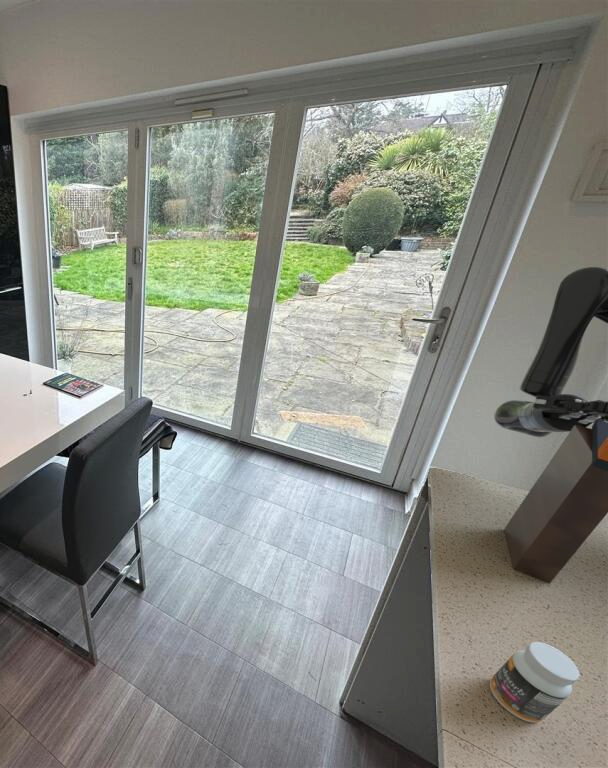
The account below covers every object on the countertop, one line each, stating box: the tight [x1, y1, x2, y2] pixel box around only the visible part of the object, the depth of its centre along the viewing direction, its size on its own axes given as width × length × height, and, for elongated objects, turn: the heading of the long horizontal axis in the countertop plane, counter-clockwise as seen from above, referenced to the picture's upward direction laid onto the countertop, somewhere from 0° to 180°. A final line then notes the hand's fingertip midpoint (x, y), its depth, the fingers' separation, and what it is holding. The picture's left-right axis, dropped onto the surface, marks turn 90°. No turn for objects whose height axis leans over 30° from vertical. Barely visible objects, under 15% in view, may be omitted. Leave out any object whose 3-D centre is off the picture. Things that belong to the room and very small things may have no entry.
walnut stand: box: [503, 425, 608, 584], centre depth 73 cm, size 5×12×26 cm, turn 145°
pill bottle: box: [489, 641, 581, 723], centre depth 54 cm, size 6×6×10 cm
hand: (605, 407), depth 71 cm, fingers closed
